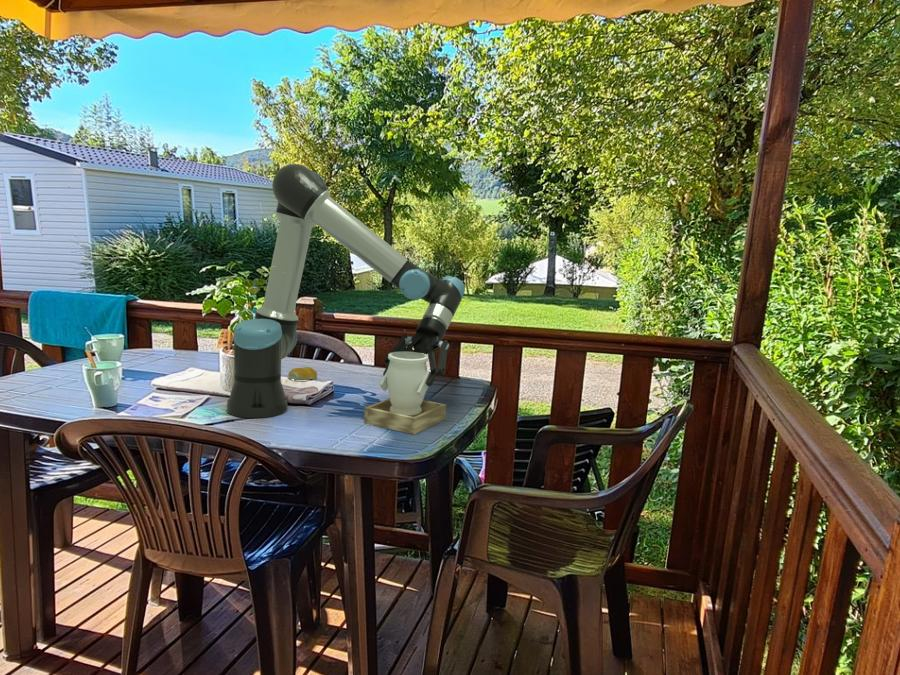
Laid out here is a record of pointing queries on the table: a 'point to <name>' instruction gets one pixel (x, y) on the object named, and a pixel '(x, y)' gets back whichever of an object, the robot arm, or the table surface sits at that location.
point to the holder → (405, 417)
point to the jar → (406, 381)
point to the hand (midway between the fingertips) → (400, 391)
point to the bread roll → (302, 373)
